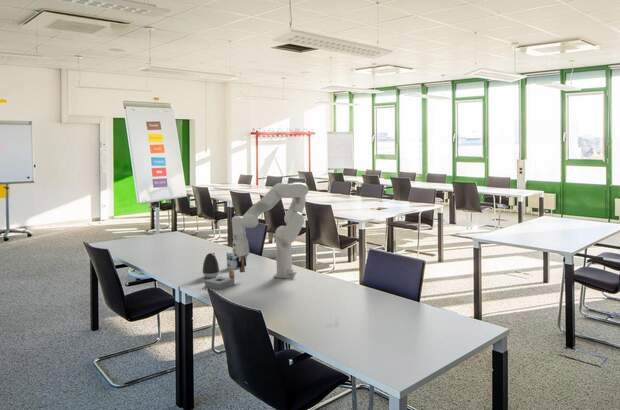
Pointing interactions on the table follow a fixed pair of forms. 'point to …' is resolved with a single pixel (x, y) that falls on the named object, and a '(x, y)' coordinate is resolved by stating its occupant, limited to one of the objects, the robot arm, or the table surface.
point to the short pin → (231, 274)
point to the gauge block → (219, 283)
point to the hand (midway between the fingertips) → (241, 266)
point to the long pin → (242, 264)
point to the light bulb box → (231, 261)
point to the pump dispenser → (210, 266)
